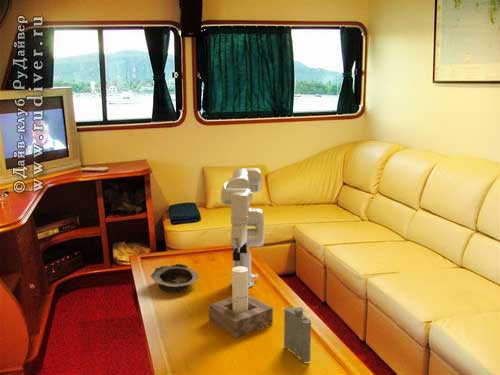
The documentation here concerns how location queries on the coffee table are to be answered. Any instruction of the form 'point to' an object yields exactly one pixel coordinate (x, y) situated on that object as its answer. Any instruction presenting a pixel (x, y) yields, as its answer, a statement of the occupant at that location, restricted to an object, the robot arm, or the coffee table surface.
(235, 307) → the cylindrical container
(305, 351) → the hip flask
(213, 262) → the coffee table surface
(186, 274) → the stone bowl
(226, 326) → the walnut well block
